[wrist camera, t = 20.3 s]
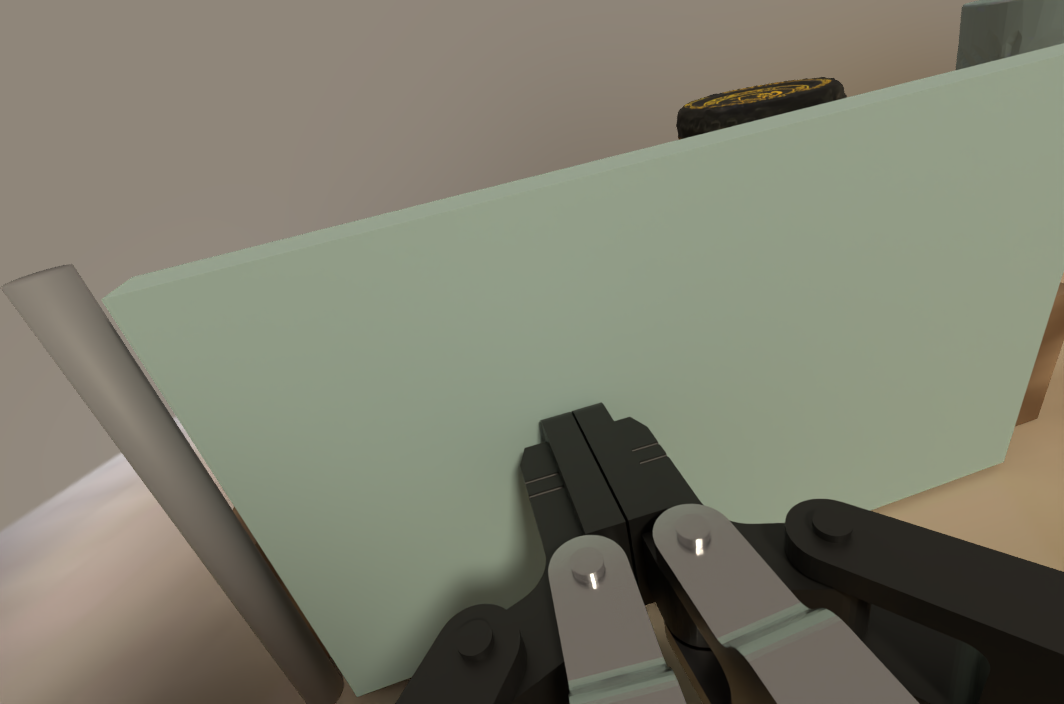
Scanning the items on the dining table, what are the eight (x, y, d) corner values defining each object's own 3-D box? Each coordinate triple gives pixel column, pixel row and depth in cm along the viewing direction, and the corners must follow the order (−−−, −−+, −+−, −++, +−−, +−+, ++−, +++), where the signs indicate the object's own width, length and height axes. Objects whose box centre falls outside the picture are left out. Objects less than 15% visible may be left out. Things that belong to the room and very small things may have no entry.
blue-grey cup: (899, 186, 42) (924, 11, 36) (1013, 157, 43) (1056, -19, 37) (1027, 213, 33) (1087, -13, 27) (1168, 177, 34) (1256, -52, 28)
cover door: (304, 720, 14) (-19, 296, 8) (310, 677, 15) (27, 273, 9) (1002, 466, 17) (1146, 8, 11) (966, 445, 18) (1080, 15, 12)
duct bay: (293, 680, 15) (211, 567, 13) (334, 430, 27) (294, 345, 24) (1037, 418, 18) (1080, 288, 16) (790, 294, 30) (795, 207, 27)
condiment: (645, 378, 25) (617, 113, 20) (787, 323, 27) (798, 66, 22) (751, 466, 19) (755, 115, 14) (924, 386, 21) (992, 49, 15)
